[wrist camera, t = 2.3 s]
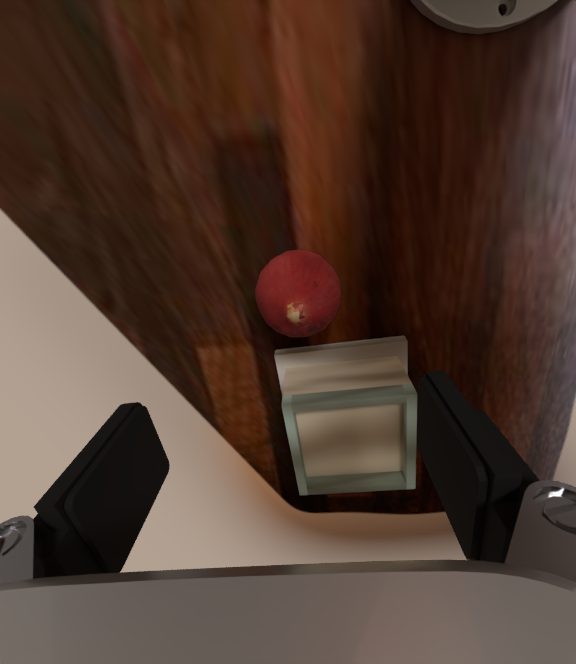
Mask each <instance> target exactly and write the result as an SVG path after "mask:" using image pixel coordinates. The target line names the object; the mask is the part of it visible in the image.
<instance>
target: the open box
mask: <svg viewBox="0 0 576 664" xmlns="http://www.w3.org/2000/svg"><path fill="white" fill-rule="evenodd" d="M274 357H275V362H276V367H277V372H278V377H279V382H280V387H281V392H282V397H283V398H282V411H283V416H284V421H285V426H286V430H287V435H288V440H289V445H290V450H291V455H292V460H293V465H294V469H295V474H296V479H297V484H298V489H299V494H300V495H315V494H333V493H350V492H368V491H385V490H403V489H415V487H416V435H417V392H416V390H415V388H414V386H413V384H412V383H411V381H410V379H409V377H408V341H407V339H406V337H405V336H404V335H403V336H395V337H386V338H377V339H368V340H359V341H350V342H341V343H332V344H323V345H314V346H305V347H296V348H288V349H279V350H275V354H274Z"/></svg>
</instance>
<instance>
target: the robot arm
mask: <svg viewBox="0 0 576 664" xmlns="http://www.w3.org/2000/svg"><path fill="white" fill-rule="evenodd" d="M410 1H411V2H412V4H413V5H414V6H415V7H416V8H417V9H418V10H419V11H420V13H421V14H423V15H424V16H426V17H427V18H429V19H430V20H432V21H433V22H434V23H436V24H437V25H439V26H442V27H444V28H447V29H450V30H453V31H456V32H458V33H470V34H485V33H491V32H497V31H503V30H505V29H508V28H511V27H513V26H516V25H518V24H521V23H524V22H526V21H528V20H529V19H531V18H532V17H534V16H536V15H537V14H539V13H541V12H542V11H544V10H546V9H547V8H549V7H550V6H552V5H553V4H554V3H555V2H557V1H558V0H410ZM498 8H501V10H502V16H501V14H500V13H499V9H498ZM417 445H418V449H419V452H420V455H421V457H422V459H423V462H424V464H425V466H426V468H427V471H428V473H429V475H430V478H431V480H432V482H433V484H434V487H435V489H436V491H437V494H438V496H439V498H440V500H441V503H442V505H443V507H444V509H445V512H446V514H447V516H448V519H449V521H450V523H451V525H452V528H453V530H454V532H455V535H456V537H457V539H458V541H459V544H460V546H461V548H462V551H463V553H464V555H465V556H466V558H467V559H473V560H474V561H470V560H467V561H466V560H419V561H418V560H414V561H372V562H347V563H323V564H322V563H321V564H296V565H271V566H250V567H228V568H227V567H226V568H206V569H185V570H184V569H183V570H163V571H144V572H124V573H119V572H120V571H121V570H122V568H123V566H124V564H125V562H126V560H127V558H128V555H129V553H130V551H131V549H132V547H133V545H134V543H135V541H136V539H137V537H138V534H139V532H140V530H141V528H142V526H143V524H144V522H145V520H146V518H147V516H148V514H149V511H150V509H151V507H152V505H153V503H154V501H155V499H156V497H157V495H158V493H159V490H160V489H161V486H162V484H163V482H164V480H165V478H166V476H167V474H168V472H169V461H168V458H167V456H166V453H165V451H164V449H163V446H162V444H161V441H160V439H159V437H158V434H157V432H156V429H155V427H154V424H153V422H152V419H151V417H150V415H149V412H148V410H147V408H146V407H145V406H142V404H140V403H138V402H136V403H127V404H122V405H120V406H119V407H118V408H117V410H116V411H115V412H114V413H113V415H111V417H110V418H109V419H108V420H107V421H106V422H105V424H104V425H103V426H102V427H101V428H100V430H99V431H98V432H97V433H96V434H95V435H94V437H93V438H92V439H91V440H90V441H89V442H88V444H87V445H86V446H85V447H84V448H83V449H82V451H81V452H80V453H79V454H78V455H77V457H76V458H75V459H74V460H73V461H72V463H71V464H70V465H69V466H68V467H67V468H66V470H65V471H64V472H63V473H62V474H61V476H60V477H59V478H58V479H57V480H56V481H55V482H54V484H53V485H52V486H51V487H50V488H49V489H48V491H47V492H46V493H45V494H44V495H43V497H42V498H41V499H40V500H39V501H38V503H37V504H36V505H35V506H34V508H35V509H36V511H37V513H38V514H37V516H36V517H35V518H34V519H32V518H31V517H29V516H19V517H14V518H11V519H9V520H7V521H5V522H3V523H1V524H0V664H576V487H573V486H571V485H568V484H565V483H561V482H558V481H548V480H544V481H540V480H539V479H538V478H537V476H536V475H535V474H534V473H533V472H532V470H531V469H530V468H529V467H528V465H527V464H526V463H525V462H524V460H523V459H522V458H521V457H520V455H519V454H518V453H517V452H516V450H515V449H514V448H513V447H512V446H511V444H510V443H509V442H508V441H507V439H506V438H505V437H504V436H503V434H502V433H501V432H500V431H499V429H498V428H497V427H496V426H495V425H494V423H493V422H492V421H491V420H490V418H489V417H488V416H487V415H486V414H485V413H484V412H483V411H482V410H480V409H474V408H473V407H472V406H471V405H470V403H469V402H468V401H467V399H466V398H465V397H464V395H463V394H462V393H461V392H460V390H459V389H458V388H457V386H456V385H455V384H454V383H453V381H452V380H451V379H450V377H449V376H448V375H447V373H446V372H445V371H443V370H441V371H431V372H425V373H424V375H423V377H419V378H418V404H417Z"/></svg>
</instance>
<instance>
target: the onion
mask: <svg viewBox="0 0 576 664" xmlns="http://www.w3.org/2000/svg"><path fill="white" fill-rule="evenodd" d="M255 295H256V301H257V307H258V310H259V312H260V313H261V315H262V317H263V318H264V320H265V322H266V323H267V324H268V325H269V326H270V327H272V328H273V329H274V330H275V331H276V332H278V333H281V334H284V335H286V336H289V337H308V336H311V335H313V334H315V333H318V332H320V331H322V330H324V329H325V328H326V327H327V325H328V324H329V323H330V322H331V321H332V320H333V319H334V317H335V316H336V315H337V312H338V309H339V305H340V302H341V287H340V280H339V278H338V276H337V274H336V272H335V270H334V268H333V266H332V265H330V264H329V263H328V262H327V261H326V260H325V259H324V258H322V257H321V256H320V255H319V254H316V253H313V252H310V251H307V250H304V249H301V250H291V251H286V252H285V253H283V254H281V255H279V256H277V257H275V258H273V259H272V260H271V261H270V262H269V263H268V264H267V265H266V266H265V268H264V269H263V270H262V271H261V272H260V276H259V279H258V282H257V285H256V289H255Z"/></svg>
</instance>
